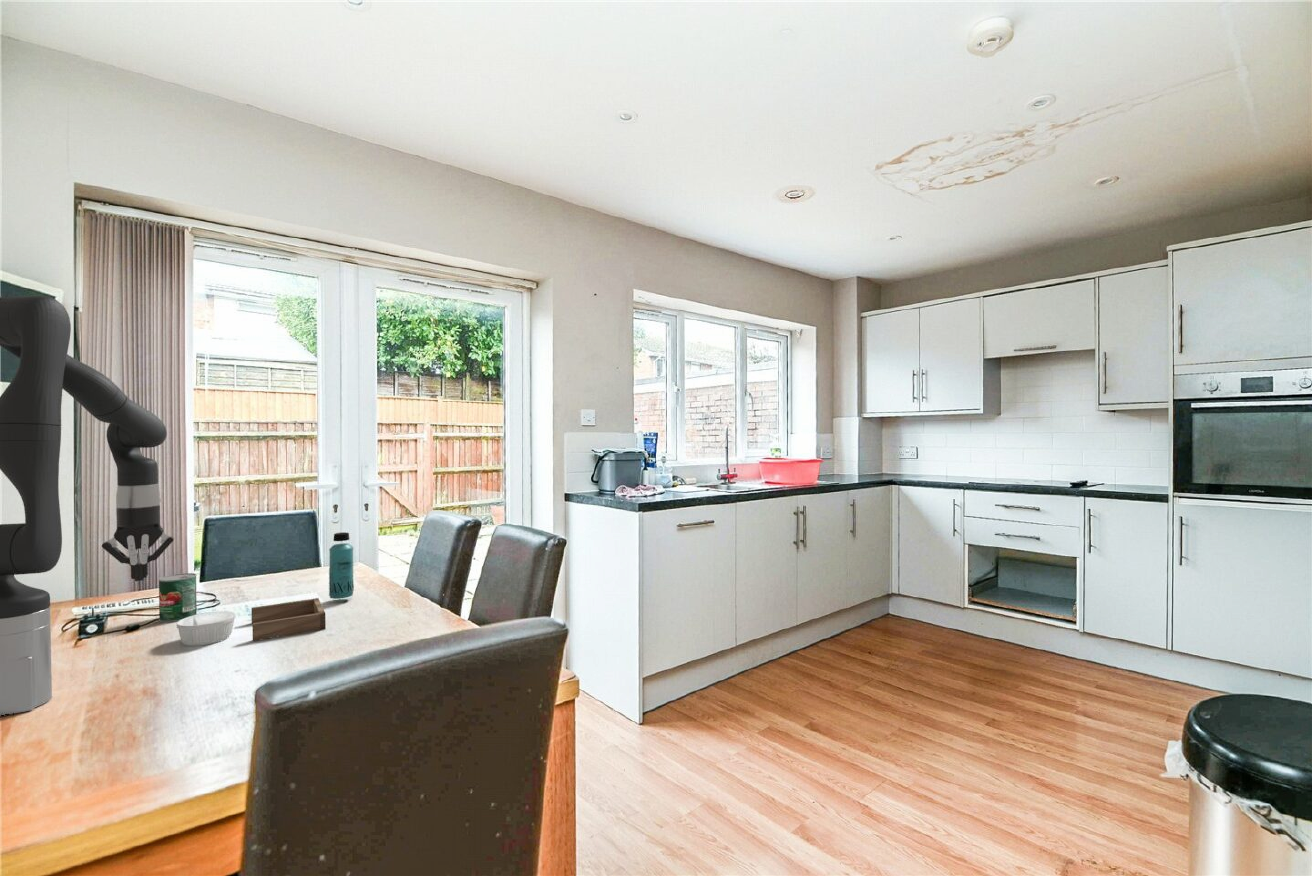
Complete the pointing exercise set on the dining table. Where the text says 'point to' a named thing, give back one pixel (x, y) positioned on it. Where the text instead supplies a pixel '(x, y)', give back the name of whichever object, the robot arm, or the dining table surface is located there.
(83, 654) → the dining table surface
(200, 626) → the ramekin
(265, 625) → the walnut bay
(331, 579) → the beverage bottle
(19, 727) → the dining table surface
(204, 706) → the dining table surface
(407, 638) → the dining table surface
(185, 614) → the canned tomato
